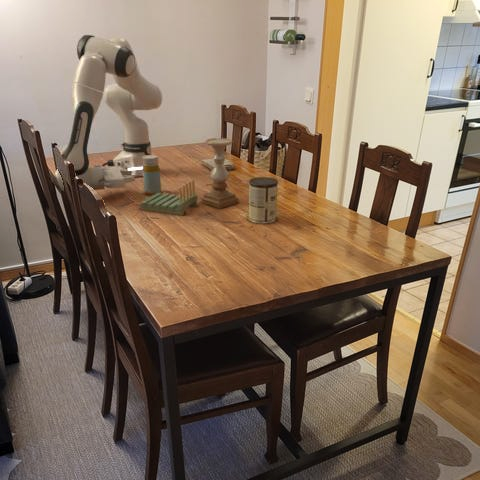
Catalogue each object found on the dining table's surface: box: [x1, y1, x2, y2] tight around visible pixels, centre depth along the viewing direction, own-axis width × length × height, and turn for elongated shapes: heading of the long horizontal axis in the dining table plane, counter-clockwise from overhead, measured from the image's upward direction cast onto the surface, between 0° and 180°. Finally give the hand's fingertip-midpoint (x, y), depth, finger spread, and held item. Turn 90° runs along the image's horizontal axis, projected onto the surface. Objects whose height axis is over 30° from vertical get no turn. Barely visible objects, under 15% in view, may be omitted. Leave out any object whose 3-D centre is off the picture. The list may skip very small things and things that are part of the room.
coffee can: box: [248, 176, 279, 225], centre depth 174 cm, size 10×10×14 cm
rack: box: [139, 179, 198, 216], centre depth 185 cm, size 18×14×10 cm
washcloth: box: [200, 158, 235, 171], centre depth 242 cm, size 12×18×3 cm, turn 26°
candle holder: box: [200, 137, 239, 209], centre depth 188 cm, size 11×11×24 cm
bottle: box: [142, 154, 162, 196], centre depth 200 cm, size 7×7×15 cm
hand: (133, 175), depth 197 cm, fingers open, 8 cm apart
